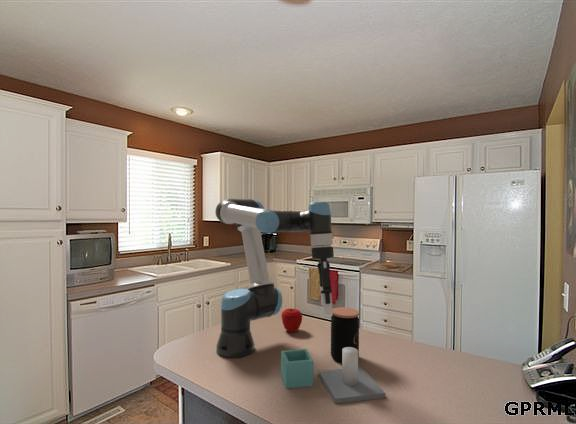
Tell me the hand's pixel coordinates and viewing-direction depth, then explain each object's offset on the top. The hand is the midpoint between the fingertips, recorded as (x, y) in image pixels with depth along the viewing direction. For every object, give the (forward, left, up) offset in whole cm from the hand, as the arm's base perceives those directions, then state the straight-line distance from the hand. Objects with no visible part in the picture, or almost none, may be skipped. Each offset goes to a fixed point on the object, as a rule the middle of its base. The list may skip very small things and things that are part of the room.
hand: (326, 309), depth 105 cm
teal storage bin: (-1, -10, -23) cm, 25 cm away
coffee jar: (-13, +12, -23) cm, 29 cm away
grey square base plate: (+6, +6, -23) cm, 25 cm away
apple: (-44, -2, -23) cm, 49 cm away
